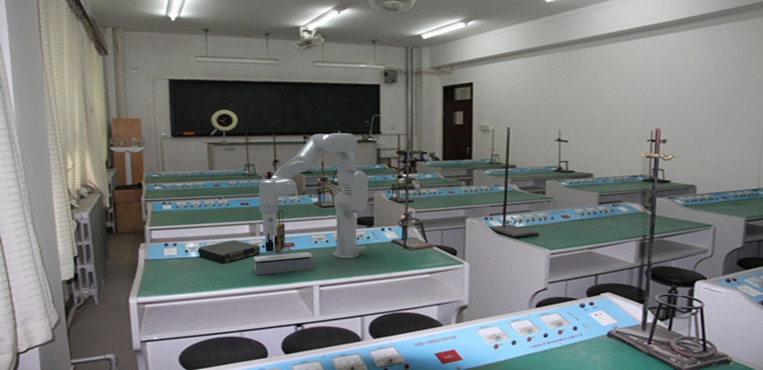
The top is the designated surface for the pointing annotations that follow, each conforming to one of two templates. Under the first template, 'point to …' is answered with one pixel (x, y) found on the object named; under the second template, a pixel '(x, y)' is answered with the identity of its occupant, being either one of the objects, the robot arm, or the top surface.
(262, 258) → the panel
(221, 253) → the network switch
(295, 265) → the block
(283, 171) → the robot arm
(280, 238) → the multimeter
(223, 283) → the top surface
